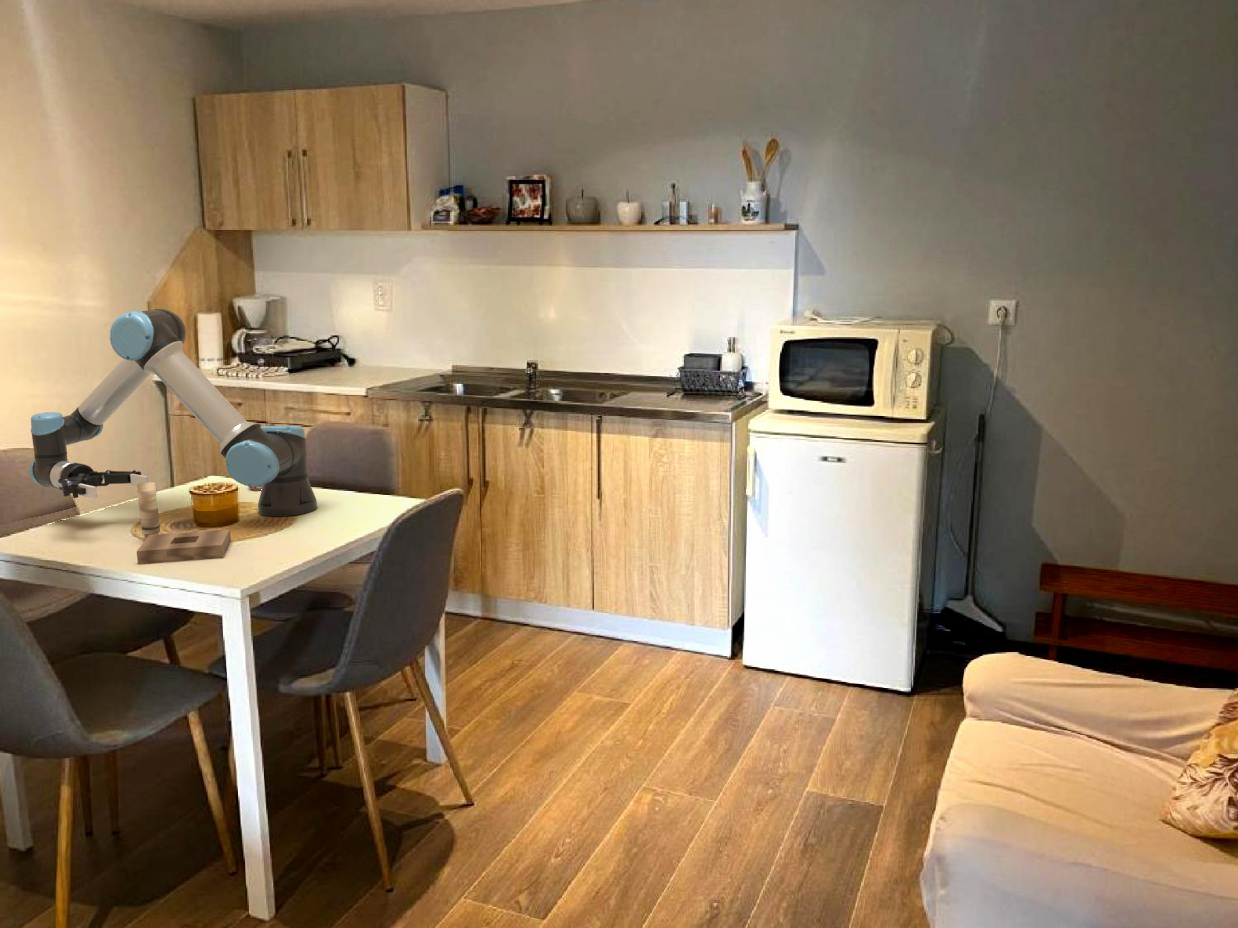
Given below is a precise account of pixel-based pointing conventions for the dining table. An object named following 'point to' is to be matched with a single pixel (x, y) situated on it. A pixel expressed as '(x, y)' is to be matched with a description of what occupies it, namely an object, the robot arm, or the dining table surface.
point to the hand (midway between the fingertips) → (122, 487)
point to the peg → (148, 508)
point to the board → (184, 546)
